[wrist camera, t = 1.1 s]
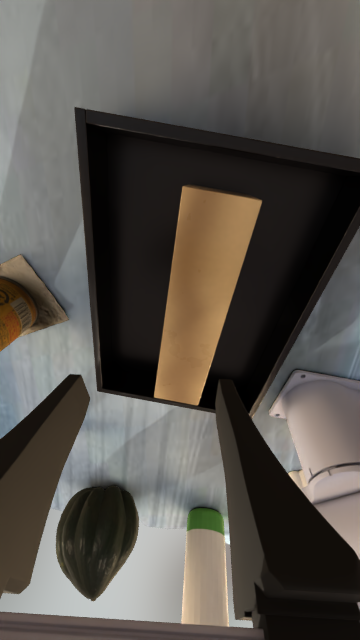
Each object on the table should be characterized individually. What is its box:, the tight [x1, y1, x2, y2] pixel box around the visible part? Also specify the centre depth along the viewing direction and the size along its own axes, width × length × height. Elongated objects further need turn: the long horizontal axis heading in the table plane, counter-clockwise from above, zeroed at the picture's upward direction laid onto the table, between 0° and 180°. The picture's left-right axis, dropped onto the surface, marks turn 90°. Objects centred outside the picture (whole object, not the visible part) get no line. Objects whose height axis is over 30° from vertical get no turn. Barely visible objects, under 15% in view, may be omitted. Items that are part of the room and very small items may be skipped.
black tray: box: [75, 107, 360, 419], centre depth 20 cm, size 17×23×3 cm
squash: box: [56, 486, 139, 601], centre depth 43 cm, size 14×15×15 cm
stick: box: [154, 184, 262, 405], centre depth 19 cm, size 4×18×4 cm, turn 171°
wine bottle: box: [181, 508, 229, 627], centre depth 36 cm, size 8×8×30 cm
